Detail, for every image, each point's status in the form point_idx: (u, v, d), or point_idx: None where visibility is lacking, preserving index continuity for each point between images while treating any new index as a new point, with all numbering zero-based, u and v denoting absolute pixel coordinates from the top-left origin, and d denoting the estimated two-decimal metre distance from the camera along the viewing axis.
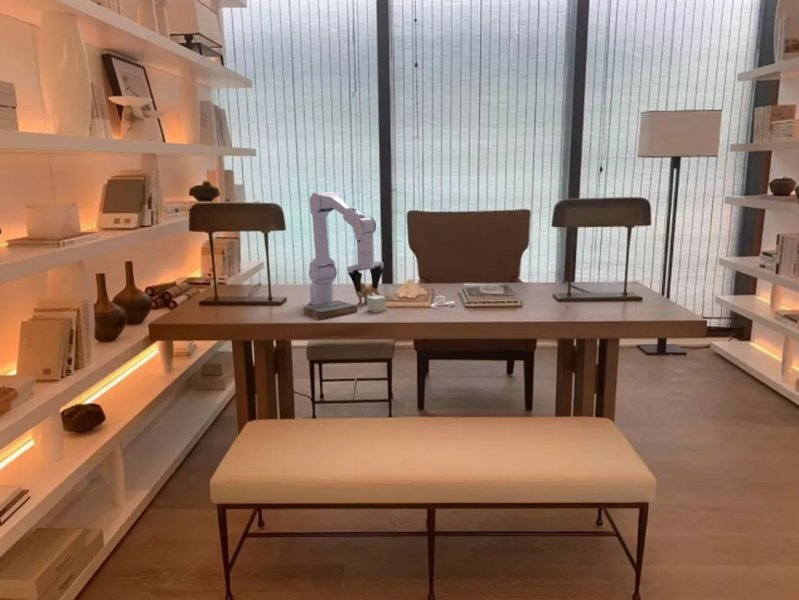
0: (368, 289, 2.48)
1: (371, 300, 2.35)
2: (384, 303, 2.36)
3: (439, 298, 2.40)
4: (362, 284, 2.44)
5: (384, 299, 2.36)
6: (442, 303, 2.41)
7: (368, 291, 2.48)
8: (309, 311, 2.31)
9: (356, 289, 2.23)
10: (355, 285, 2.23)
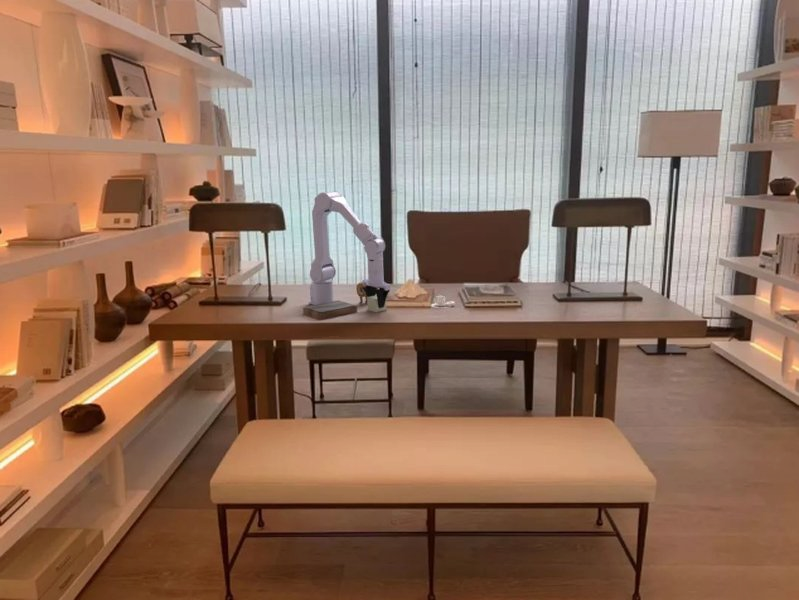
0: None
1: (371, 299, 2.35)
2: None
3: (439, 298, 2.40)
4: None
5: None
6: (442, 303, 2.41)
7: None
8: (309, 311, 2.31)
9: None
10: None
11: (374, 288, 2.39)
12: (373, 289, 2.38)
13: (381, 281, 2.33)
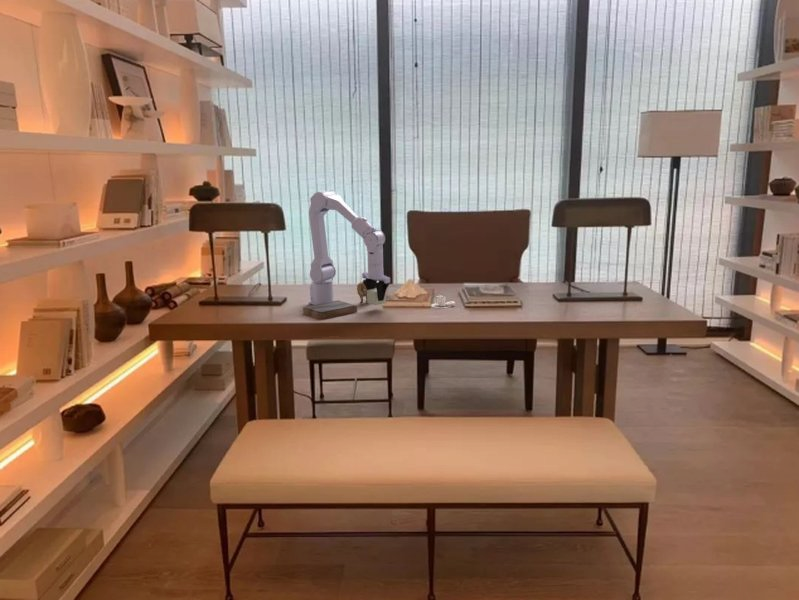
0: None
1: (370, 292, 2.35)
2: (384, 296, 2.36)
3: (439, 298, 2.40)
4: None
5: None
6: (442, 303, 2.41)
7: None
8: (309, 311, 2.31)
9: None
10: None
11: (374, 281, 2.38)
12: (373, 282, 2.38)
13: (381, 274, 2.33)
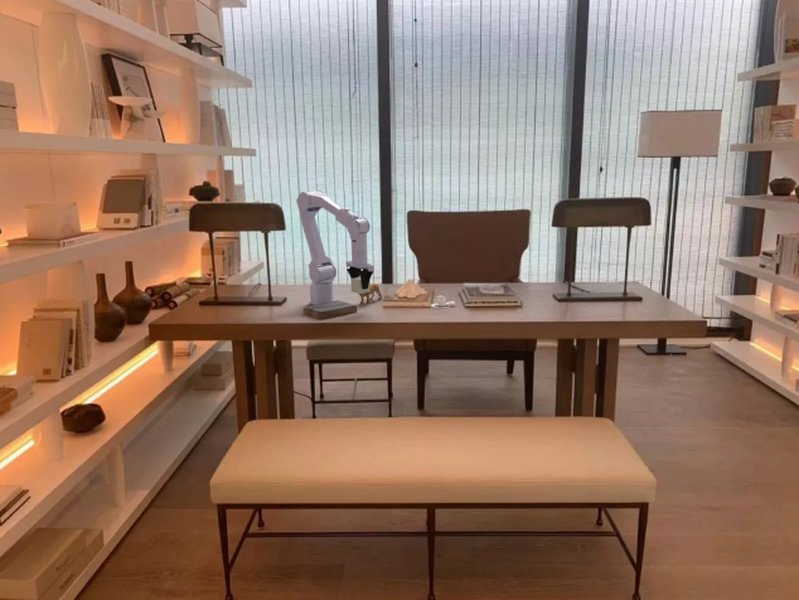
0: (370, 288, 2.49)
1: (354, 281, 2.33)
2: None
3: (439, 298, 2.40)
4: None
5: None
6: (442, 303, 2.41)
7: (370, 290, 2.49)
8: (309, 311, 2.31)
9: None
10: None
11: (358, 269, 2.36)
12: (357, 271, 2.36)
13: (365, 262, 2.31)
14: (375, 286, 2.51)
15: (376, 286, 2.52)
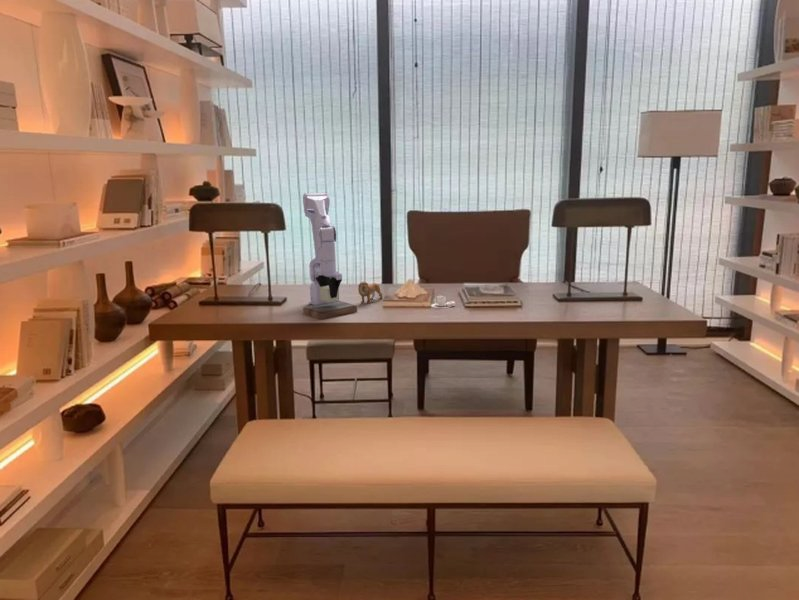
0: (371, 288, 2.49)
1: (323, 289, 2.32)
2: (337, 293, 2.33)
3: (439, 298, 2.40)
4: (365, 283, 2.45)
5: None
6: (442, 303, 2.40)
7: (371, 290, 2.49)
8: (309, 311, 2.31)
9: None
10: None
11: (327, 278, 2.35)
12: (326, 279, 2.35)
13: (333, 270, 2.30)
14: (376, 286, 2.52)
15: (377, 286, 2.52)
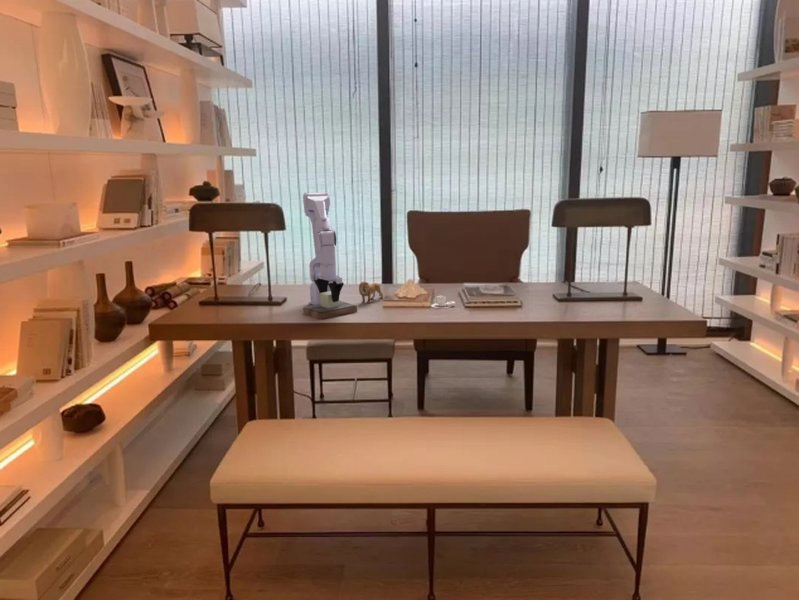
0: (371, 288, 2.50)
1: (323, 295, 2.32)
2: None
3: (439, 298, 2.40)
4: (366, 283, 2.45)
5: None
6: (442, 303, 2.40)
7: (371, 290, 2.50)
8: (309, 311, 2.31)
9: None
10: None
11: (326, 281, 2.36)
12: (324, 282, 2.36)
13: (333, 274, 2.30)
14: (376, 286, 2.52)
15: (377, 286, 2.52)
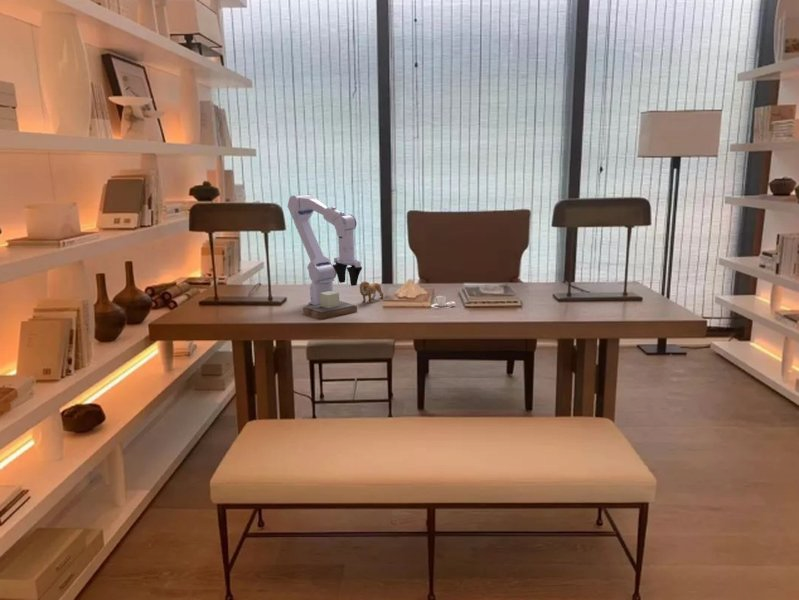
0: (372, 288, 2.50)
1: (323, 295, 2.32)
2: (337, 299, 2.33)
3: (439, 298, 2.40)
4: (366, 283, 2.46)
5: (337, 295, 2.33)
6: (442, 303, 2.40)
7: (372, 290, 2.50)
8: (309, 311, 2.31)
9: None
10: None
11: (344, 265, 2.39)
12: (343, 267, 2.39)
13: (352, 258, 2.33)
14: (377, 285, 2.52)
15: (378, 285, 2.53)
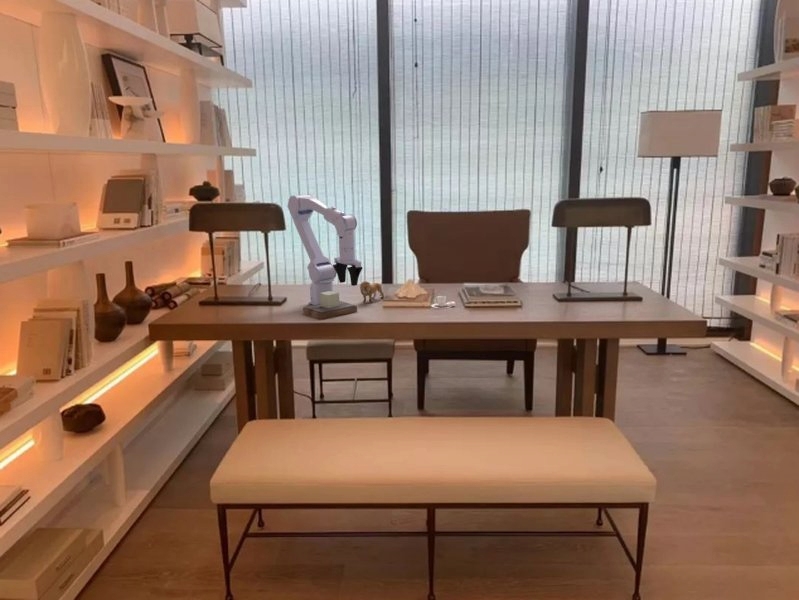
0: (372, 288, 2.50)
1: (323, 295, 2.32)
2: (337, 299, 2.33)
3: (439, 298, 2.40)
4: (367, 283, 2.46)
5: (337, 295, 2.33)
6: (442, 303, 2.40)
7: (372, 290, 2.50)
8: (309, 311, 2.31)
9: None
10: None
11: (344, 265, 2.39)
12: (343, 267, 2.39)
13: (352, 258, 2.33)
14: (377, 285, 2.53)
15: (378, 285, 2.53)
